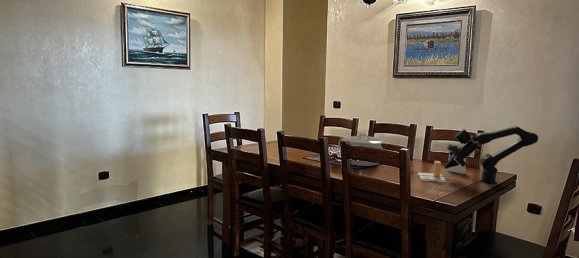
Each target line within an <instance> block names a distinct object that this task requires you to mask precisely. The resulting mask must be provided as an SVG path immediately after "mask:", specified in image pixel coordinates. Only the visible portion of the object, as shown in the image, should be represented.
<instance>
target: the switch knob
mask: <svg viewBox="0 0 579 258" xmlns="http://www.w3.org/2000/svg"><path fill="white" fill-rule="evenodd" d="M441 170H442V162H441V161H439V160H434V162H433V172H432V173H433V175H434V176H435V177H440V174H441Z"/></svg>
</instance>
